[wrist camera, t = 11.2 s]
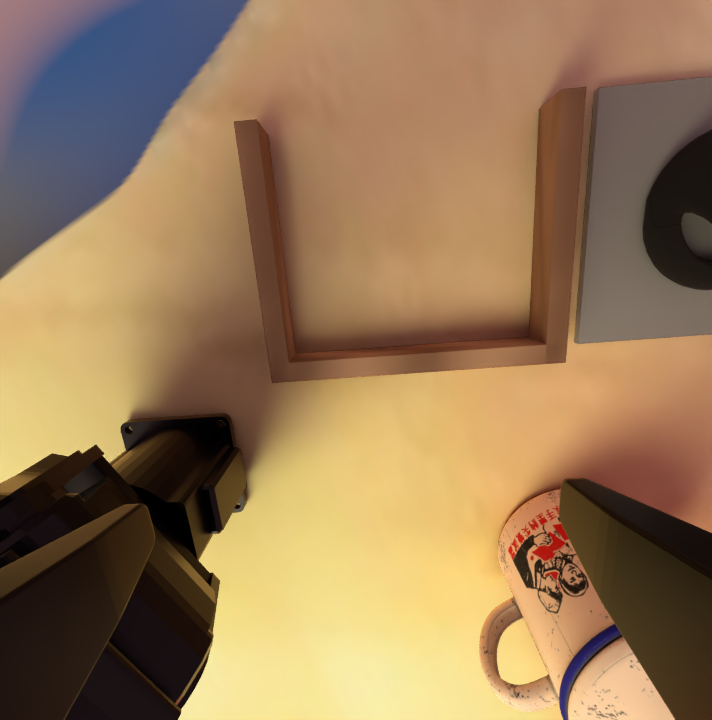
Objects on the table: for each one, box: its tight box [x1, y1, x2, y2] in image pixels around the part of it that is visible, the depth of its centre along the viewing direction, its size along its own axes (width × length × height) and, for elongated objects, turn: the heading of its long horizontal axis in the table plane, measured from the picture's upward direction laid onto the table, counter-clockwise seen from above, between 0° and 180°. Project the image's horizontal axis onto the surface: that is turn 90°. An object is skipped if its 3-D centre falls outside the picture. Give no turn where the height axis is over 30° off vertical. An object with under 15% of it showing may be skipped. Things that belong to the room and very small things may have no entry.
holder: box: [234, 87, 586, 383], centre depth 18 cm, size 15×12×2 cm
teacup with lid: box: [479, 489, 675, 720], centre depth 18 cm, size 12×9×12 cm
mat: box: [574, 77, 712, 344], centre depth 18 cm, size 12×12×1 cm
